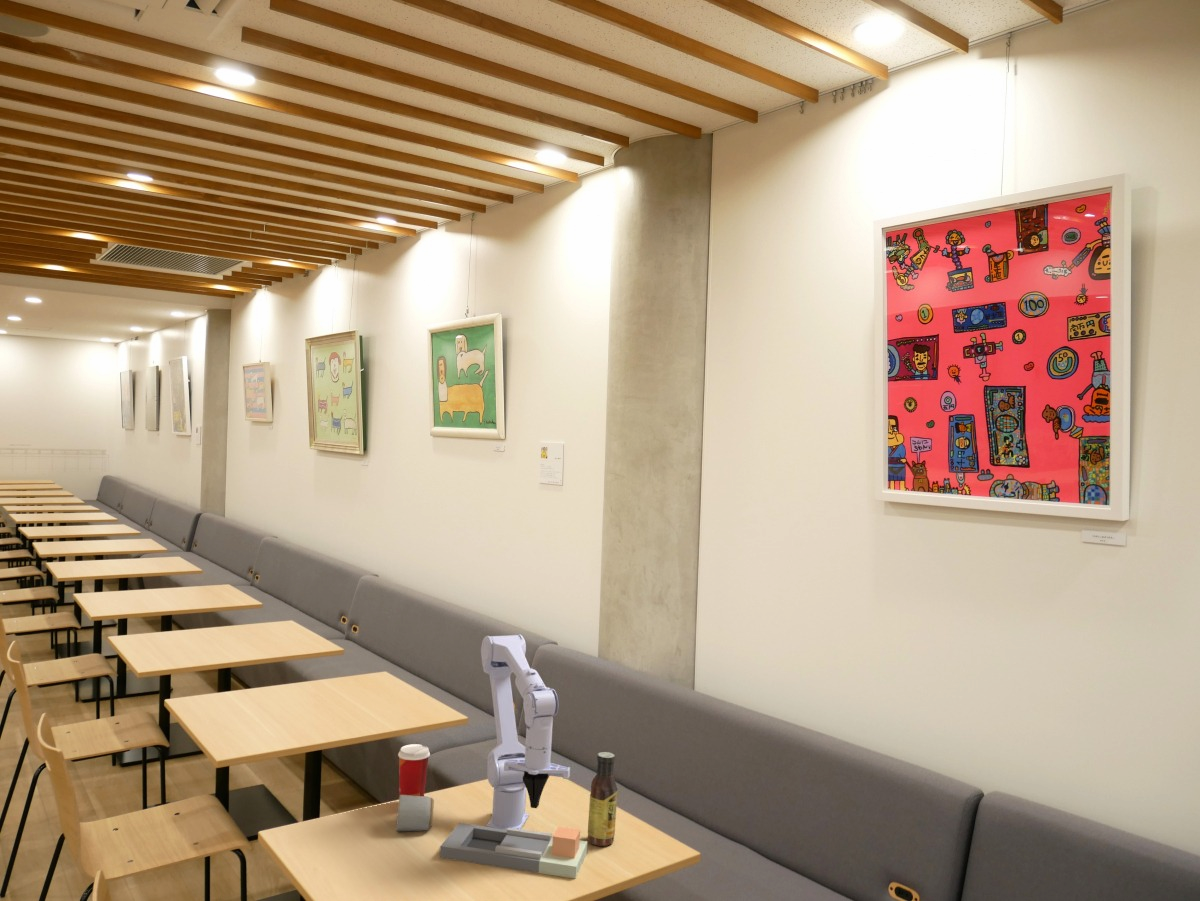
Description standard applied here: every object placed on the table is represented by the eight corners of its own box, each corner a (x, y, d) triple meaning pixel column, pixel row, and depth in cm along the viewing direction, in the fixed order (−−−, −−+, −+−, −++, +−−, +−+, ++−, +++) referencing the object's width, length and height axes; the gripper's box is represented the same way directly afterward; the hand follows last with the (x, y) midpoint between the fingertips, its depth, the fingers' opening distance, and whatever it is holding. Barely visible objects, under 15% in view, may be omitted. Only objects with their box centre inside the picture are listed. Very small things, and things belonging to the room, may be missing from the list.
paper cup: (413, 796, 218) (416, 741, 218) (433, 806, 213) (436, 749, 213) (388, 805, 212) (391, 748, 212) (407, 815, 207) (411, 757, 207)
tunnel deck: (458, 833, 199) (459, 818, 199) (586, 852, 194) (587, 836, 194) (439, 857, 187) (440, 841, 187) (575, 878, 182) (576, 861, 182)
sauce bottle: (611, 849, 196) (616, 761, 196) (584, 845, 197) (589, 758, 197) (616, 836, 202) (621, 752, 202) (590, 832, 204) (595, 748, 204)
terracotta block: (557, 844, 191) (558, 826, 191) (579, 847, 191) (580, 829, 190) (551, 854, 187) (552, 836, 186) (574, 858, 186) (575, 839, 186)
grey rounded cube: (432, 835, 198) (434, 801, 198) (395, 836, 196) (397, 802, 196) (431, 816, 208) (433, 784, 208) (396, 817, 206) (398, 784, 206)
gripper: (501, 747, 189) (497, 808, 190) (566, 755, 187) (562, 818, 187) (510, 736, 196) (507, 796, 196) (573, 744, 194) (569, 805, 194)
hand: (534, 806), depth 192 cm, fingers closed
